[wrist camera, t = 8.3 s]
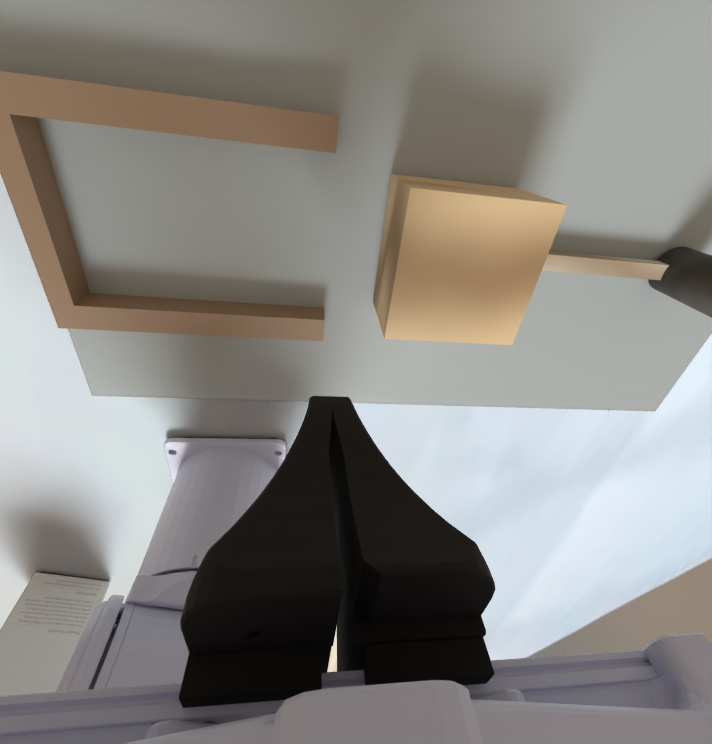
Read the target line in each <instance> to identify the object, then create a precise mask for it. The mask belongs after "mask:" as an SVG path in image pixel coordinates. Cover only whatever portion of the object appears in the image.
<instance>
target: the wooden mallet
mask: <svg viewBox="0 0 712 744" xmlns="http://www.w3.org/2000/svg"><path fill="white" fill-rule="evenodd" d="M566 208H567V205H566V204H563V203H560V202H557V201H554V200H551V199H549V198H546V197H543V196H540V195H537V194H534V193H531V192H528V191H525V190H522V189H519V188H511V187H502V186H494V185H485V184H476V183H467V182H459V181H450V180H441V179H433V178H424V177H415V176H406V175H398V174H391V177H390V184H389V191H388V198H387V205H386V212H385V219H384V226H383V233H382V240H381V247H380V254H379V261H378V268H377V275H376V282H375V289H374V296H373V304H374V308H375V311H376V314H377V317H378V320H379V323H380V326H381V330H382V333H383V336H384V339H400V340H419V341H438V342H457V343H477V344H496V345H513V342H514V340H515V337H516V335H517V332H518V329H519V327H520V324H521V322H522V319H523V317H524V314H525V312H526V309H527V307H528V304H529V302H530V299H531V296H532V294H533V291H534V289H535V286H536V284H537V281H538V279H539V276H540V274H541V271H554V272H566V273H578V274H590V275H602V276H614V277H626V278H638V279H648V282H649V285H650V286H651V287H652V288H653V289H655V290H657V291H659V292H661V293H663V294H665V295H667V296H669V297H671V298H673V299H675V300H677V301H679V302H681V303H683V304H685V305H687V306H689V307H691V308H693V309H695V310H697V311H699V312H701V313H703V314H705V315H707V316H709V317H711V318H712V256H711V255H709V254H706V253H703V252H700V251H697V250H694V249H691V248H688V247H676V248H673V249H671V250H669V251H667V252H666V253H664V254H663V255H662V256H661V257H659V258H658V259H657V261H654V260H643V259H632V258H621V257H610V256H599V255H588V254H577V253H566V252H555V251H550V248H551V246H552V243H553V241H554V238H555V236H556V233H557V230H558V228H559V225H560V223H561V220H562V218H563V215H564V213H565V210H566Z"/></svg>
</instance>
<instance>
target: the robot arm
mask: <svg viewBox="0 0 712 744" xmlns="http://www.w3.org/2000/svg"><path fill="white" fill-rule="evenodd" d="M164 450H165V454H166V458H167V462H168V466H169V470H170V474H171V478H172V482H173V485H172V488H171V491H170V493H169V496H168V498H167V501H166V503H165V506H164V509H163V511H162V514H161V516H160V519H159V521H158V524H157V527H156V529H155V532H154V534H153V537H152V540H151V542H150V545H149V547H148V550H147V552H146V555H145V558H144V560H143V563H142V565H141V568H140V570H139V573H138V576H137V577H136V579H135V581H134V583H133V586H132V588H131V590H130V592H129V594H128V597H127V599H126V601H125V603H122V602H123V599H124V596H120V595H112V596H111V597H110V598H109V599H108V601H105V602H103V603H101V604H100V605H98V606H97V607H95V608H94V610H93V612H92V614H91V616H90V618H89V620H88V622H87V624H86V626H85V628H84V631H83V633H82V635H81V637H80V639H79V641H78V644H77V646H76V648H75V650H74V652H73V655H72V657H71V659H70V661H69V663H68V666H67V668H66V670H65V672H64V675H63V677H62V679H61V681H60V684H59V686H58V688H57V690H56V692H48V693H34V694H20V695H7V696H0V744H712V643H711V641H710V640H709V639H708V637H707V636H706V635H705V634H702V633H689V634H675V635H666V636H661V637H659V638H656V639H654V640H652V641H651V642H650V643H648V644H647V645H646V646H645V647H644V650H633V651H619V652H604V653H592V654H577V655H563V656H551V657H550V656H549V657H535V658H521V659H507V660H493V661H490V658H489V654H488V651H487V648H486V645H485V642H484V639H483V636H485V634H486V630H485V627H484V624H483V621H482V618H481V614H482V613H483V611H484V610H485V608H486V607H487V605H488V603H489V602H490V600H491V598H492V596H493V594H494V591H495V584H494V580H493V578H492V575H491V573H490V570H489V568H488V566H487V564H486V562H485V560H484V558H483V556H482V554H481V552H480V550H479V548H478V546H477V544H476V543H475V542H474V541H472V540H471V539H470V538H468V537H467V536H466V535H464V534H463V533H461V532H460V531H459V530H457V529H456V528H455V527H453V526H452V525H451V524H449V523H448V522H447V521H446V520H444V519H443V518H442V517H441V516H440V515H438V514H437V513H436V512H435V511H434V510H433V509H431V508H430V507H429V506H428V505H427V504H426V503H425V502H424V501H423V500H422V499H421V498H420V497H419V496H418V495H417V494H416V493H415V492H414V491H413V490H412V489H411V488H410V487H409V486H408V485H407V484H406V483H405V482H404V481H403V480H402V478H401V477H400V476H399V475H398V474H397V473H396V471H395V470H394V469H393V468H392V467H391V465H390V464H389V463H388V461H387V460H386V459H385V457H384V456H383V455H382V453H381V452H380V450H379V449H378V448H377V446H376V445H375V443H374V442H373V440H372V438H371V437H370V435H369V434H368V432H367V430H366V429H365V427H364V425H363V424H362V422H361V420H360V418H359V416H358V414H357V412H356V410H355V408H354V406H353V404H352V401H351V399H350V398H349V397H336V396H312V397H310V398H309V405H308V409H307V412H306V415H305V418H304V421H303V423H302V426H301V428H300V430H299V433H298V435H297V437H296V439H295V441H294V443H293V445H292V447H291V448H290V450H289V452H288V454H287V456H286V443H285V442H284V441H283V440H280V439H219V438H168V439H166V441H165V443H164ZM173 450H175V451H173ZM277 451H280V452H277ZM336 625H337V672H327V669H328V663H329V657H330V652H331V646H333V642H334V637H335V631H336Z"/></svg>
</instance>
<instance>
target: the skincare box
mask: <svg viewBox="0 0 712 744" xmlns="http://www.w3.org/2000/svg"><path fill="white" fill-rule="evenodd" d="M108 586H109V582H108V581H102V580H94V579H86V578H79V577H71V576H63V575H55V574H47V573H39V572H36V573H34V574H33V576H32V578H31V580H30V582H29V583H28V585H27V587H26V588H25V590H24V592H23V593H22V595H21V597H20V598H19V600H18V601H17V603H16V605H15V606H14V608H13V610H12V611H11V613H10V615H9V616H8V618H7V620H6V621H5V623H4V625H3V626H2V628H1V630H0V696H7V695H20V694H34V693H48V692H56V690H57V688H58V686H59V684H60V681H61V679H62V677H63V675H64V672H65V670H66V668H67V666H68V663H69V661H70V659H71V657H72V655H73V652H74V650H75V648H76V646H77V644H78V641H79V639H80V637H81V635H82V633H83V631H84V628H85V626H86V624H87V622H88V620H89V618H90V616H91V614H92V612H93V610H94V608H95V607H97V606H98V605H100V604H101V603H103V600H104V597H105V594H106V591H107V589H108Z"/></svg>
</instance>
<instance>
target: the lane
mask: <svg viewBox="0 0 712 744" xmlns="http://www.w3.org/2000/svg"><path fill="white" fill-rule="evenodd" d="M0 173H1V176H2V179H3V181H4V184H5V187H6V189H7V192H8V195H9V197H10V200H11V203H12V205H13V208H14V211H15V213H16V216H17V219H18V221H19V224H20V227H21V229H22V232H23V235H24V237H25V240H26V243H27V245H28V248H29V251H30V253H31V256H32V259H33V261H34V264H35V267H36V269H37V272H38V275H39V277H40V280H41V283H42V285H43V288H44V291H45V293H46V296H47V299H48V301H49V304H50V307H51V309H52V312H53V315H54V317H55V320H56V323H57V325H58V328H68V330H69V333H70V336H71V339H72V341H73V344H74V347H75V350H76V353H77V355H78V358H79V361H80V364H81V366H82V369H83V372H84V375H85V378H86V380H87V383H88V386H89V389H90V392H91V394H92V396H121V397H157V398H193V399H229V400H265V401H301V402H309V398H310V397H312V396H336V397H349V398H350V399H351V401H352V403H374V404H410V405H446V406H482V407H518V408H554V409H590V410H626V411H656V409H657V408H658V407H659V405H660V404H661V403H662V401H663V400H664V398H665V397H666V396H667V394H668V393H669V391H670V390H671V389H672V387H673V386H674V385H675V383H676V382H677V380H678V379H679V378H680V376H681V375H682V373H683V372H684V371H685V369H686V368H687V367H688V365H689V364H690V362H691V361H692V360H693V358H694V357H695V355H696V354H697V353H698V351H699V350H700V348H701V347H702V346H703V344H704V343H705V342H706V340H707V339H708V337H709V336H710V335H711V333H712V318H711V317H709V316H707V315H705V314H703V313H701V312H699V311H697V310H695V309H693V308H691V307H689V306H687V305H685V304H683V303H681V302H679V301H677V300H675V299H673V298H671V297H669V296H667V295H665V294H663V293H661V292H659V291H657V290H655V289H653V288H652V287H651V286H650V285H649V282H648V279H638V278H626V277H614V276H602V275H590V274H578V273H566V272H554V271H541V274H540V276H539V279H538V281H537V284H536V286H535V289H534V291H533V294H532V296H531V299H530V302H529V304H528V307H527V309H526V312H525V314H524V317H523V319H522V322H521V324H520V327H519V329H518V332H517V335H516V337H515V340H514V342H513V345H496V344H477V343H457V342H438V341H419V340H400V339H384V336H383V333H382V330H381V326H380V323H379V320H378V317H377V314H376V311H375V308H374V304H373V296H374V289H375V282H376V275H377V268H378V261H379V254H380V247H381V240H382V233H383V226H384V219H385V212H386V205H387V198H388V191H389V184H390V177H391V174H398V175H406V176H415V177H424V178H433V179H441V180H450V181H459V182H467V183H476V184H485V185H494V186H502V187H511V188H519V189H522V190H525V191H528V192H531V193H534V194H537V195H540V196H543V197H546V198H549V199H551V200H554V201H557V202H560V203H563V204H566V205H567V208H566V210H565V213H564V215H563V218H562V220H561V223H560V225H559V228H558V230H557V233H556V236H555V238H554V241H553V243H552V246H551V248H550V251H555V252H566V253H577V254H588V255H599V256H610V257H621V258H632V259H643V260H654V261H657V259H658V258H659V257H661V256H662V255H663V254H664V253H666V252H667V251H669V250H671V249H673V248H676V247H688V248H691V249H694V250H697V251H700V252H703V253H706V254H709V255H711V256H712V0H0Z"/></svg>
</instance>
